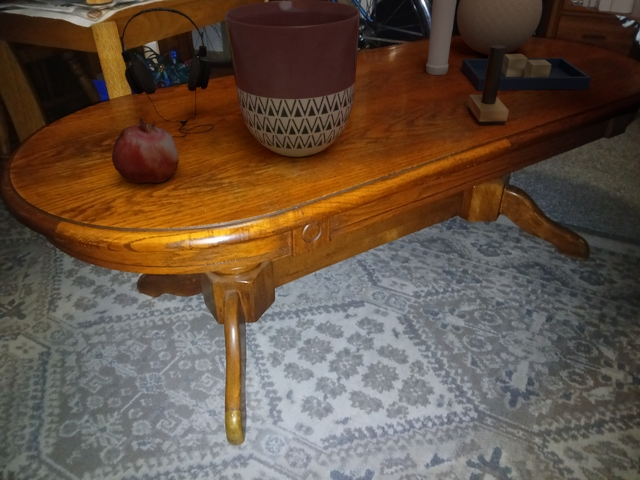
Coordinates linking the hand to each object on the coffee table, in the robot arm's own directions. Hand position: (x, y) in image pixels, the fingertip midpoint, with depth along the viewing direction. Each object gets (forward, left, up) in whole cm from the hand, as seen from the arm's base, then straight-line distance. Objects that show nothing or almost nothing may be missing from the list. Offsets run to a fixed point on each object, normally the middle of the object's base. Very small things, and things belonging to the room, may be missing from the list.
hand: (583, 2), depth 83 cm
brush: (+12, -2, -20) cm, 24 cm away
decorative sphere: (-1, -46, -20) cm, 51 cm away
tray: (-2, -25, -20) cm, 33 cm away
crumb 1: (-1, -27, -20) cm, 34 cm away
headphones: (+70, +1, -20) cm, 73 cm away
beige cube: (-4, -22, -20) cm, 30 cm away
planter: (+47, +12, -20) cm, 52 cm away
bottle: (+16, -31, -20) cm, 41 cm away
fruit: (+69, +22, -20) cm, 75 cm away
